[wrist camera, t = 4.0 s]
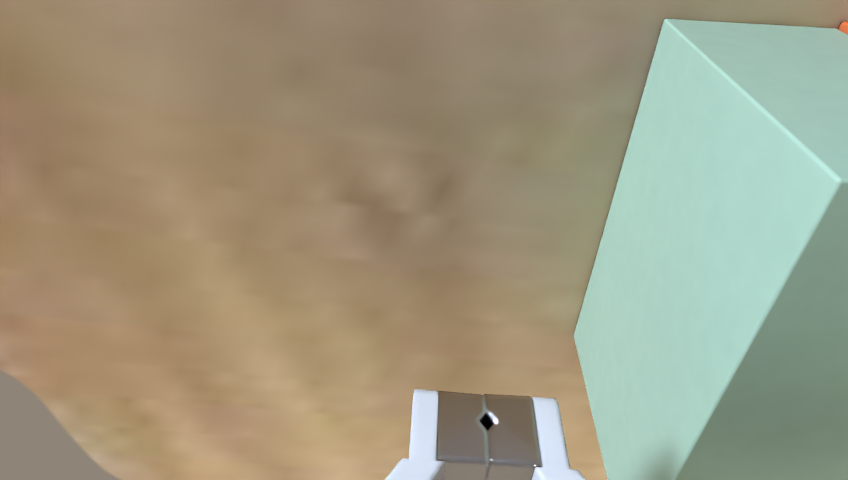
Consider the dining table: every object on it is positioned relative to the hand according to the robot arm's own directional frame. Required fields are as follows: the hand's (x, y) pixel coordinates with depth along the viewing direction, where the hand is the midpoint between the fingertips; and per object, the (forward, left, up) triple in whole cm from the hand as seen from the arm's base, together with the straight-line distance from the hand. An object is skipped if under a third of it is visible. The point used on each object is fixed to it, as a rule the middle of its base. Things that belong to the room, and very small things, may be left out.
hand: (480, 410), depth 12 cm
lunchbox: (-5, +5, -8) cm, 11 cm away
